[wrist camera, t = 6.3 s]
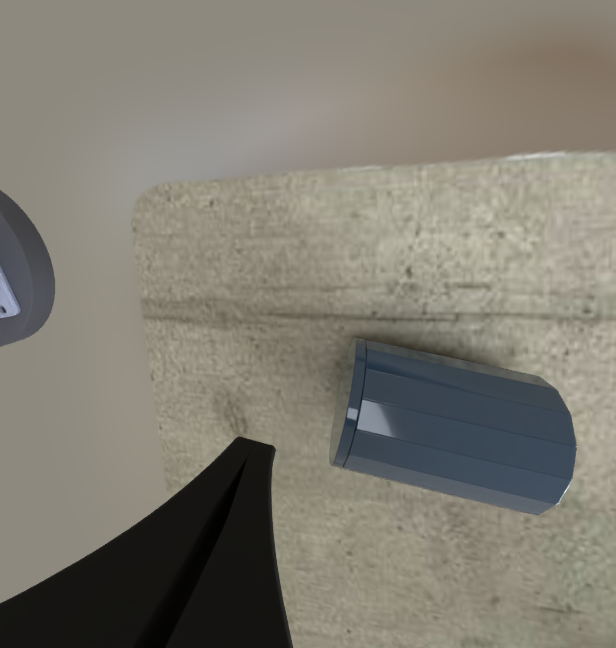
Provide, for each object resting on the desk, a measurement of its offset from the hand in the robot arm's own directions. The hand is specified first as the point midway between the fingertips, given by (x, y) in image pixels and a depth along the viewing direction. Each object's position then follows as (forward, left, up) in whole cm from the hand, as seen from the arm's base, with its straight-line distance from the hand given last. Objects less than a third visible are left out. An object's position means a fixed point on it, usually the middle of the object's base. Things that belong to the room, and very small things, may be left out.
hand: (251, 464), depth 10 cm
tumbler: (+3, -1, -6) cm, 6 cm away
